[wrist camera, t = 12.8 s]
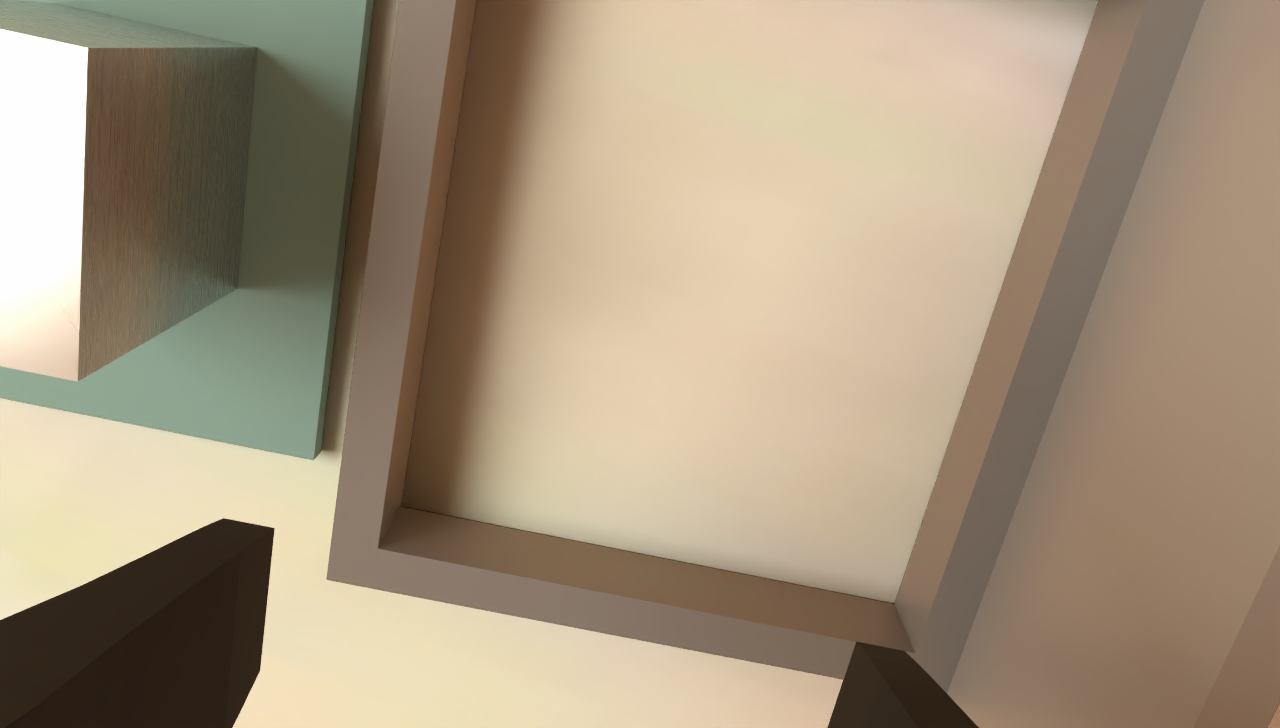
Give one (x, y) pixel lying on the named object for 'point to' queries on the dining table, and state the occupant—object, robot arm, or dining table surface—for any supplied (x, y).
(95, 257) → the block
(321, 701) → the dining table surface
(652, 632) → the equipment case
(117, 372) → the module mat
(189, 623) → the robot arm
